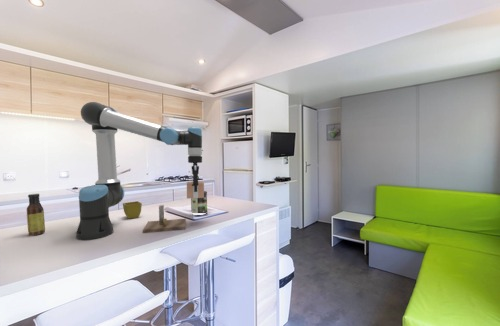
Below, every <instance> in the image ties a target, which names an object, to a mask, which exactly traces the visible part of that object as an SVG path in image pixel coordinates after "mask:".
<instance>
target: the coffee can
mask: <svg viewBox="0 0 500 326" xmlns="http://www.w3.org/2000/svg"><path fill="white" fill-rule="evenodd" d="M190 209H191V210H190V212H192V213H206V212H207V213H208V191H207V190H204V198H190Z"/></svg>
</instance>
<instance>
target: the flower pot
mask: <svg viewBox="0 0 500 326" xmlns="http://www.w3.org/2000/svg"><path fill="white" fill-rule="evenodd" d="M142 205H143V204H142V202H140V201H129V202H128V201H127V202H124V203H122V207H123V213H124V215H125V217H126V218H127V219H130V220H131V219H135V218H139V217H140V215H141V213H142V207H143V206H142Z"/></svg>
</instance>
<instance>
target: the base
mask: <svg viewBox="0 0 500 326" xmlns="http://www.w3.org/2000/svg"><path fill="white" fill-rule="evenodd" d="M158 214H159V215H158V217H159V219H158V220H152V221H151V220H150V221H147V222H146V224H145V225H144V227H143V228H142V234H146V233H156V232H167V231H180V230H186V221H187V219H186V218H179V219H177V218H176V219H167V218H165V205H164V204H160V205H158Z"/></svg>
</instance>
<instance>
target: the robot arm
mask: <svg viewBox="0 0 500 326" xmlns="http://www.w3.org/2000/svg"><path fill="white" fill-rule="evenodd" d="M80 109H81V110H80V115H81V118H82V120H83V121H84V122H85V123H86V124H88V125H90V126H91V131H92V132H93V133H94V135H95V142H96V143H95V144H96V159H97V160H96V161H97V177H98V179H97V180H96V181H95V182H94V184H92V185H88V186H85V187H82V188H81V189H80V190H79V192H78V204H79V223H78V226H77V229H76V232H75V238H76V240H80V241H83V240H84V241H85V240H94V239H95V240H96V239H99V238H103V237H107V236H109V235H112V234H113V233H114V226H113V223H112V221H111V219H110V216H109V215H110V213H109V209H110V208H111V207H115V206H116V205H118V204H120V202H122V201H123V199H124V198H125V190H124V187H123V186H122V185H121V180H120V179H119V178H118V175H117V173H118V172H117V157H116V155H117V154H116V139H115V138H116V137H115V136H116V135H115V134H117V133H118V130H119V131H120V130H121V131H124V132H128V133H130V134H135V135H138V136H141V137H146V138H149V139H153V140H155V141H159V142H162V143H164V144H166V145H167V146H182V145H183V146H184V145H185V146H187V155H188V157H187V162H188V163H189V164H192V166H191V172H192V173H191V174H192V181H193V184H192V186H193V198H198V181H199V169H200V165H198V164H200V163H203V156H202V155H203V152H204V150H203V148H202V147H203V134H202V128H201V127H197V126H195V127H194V126H191V127H187V130H185V131H184V130H183V131H182V130H176V129H174V128H172V127H167V126H163V125H162V124H161V125H160V124H158V123H154V122H151V121H147V120H144V119H141V118H137V117H134V116H130V115H128V114H124V113H122V112H121V113H120V112H118V111H117V110H116V109H114V108H113V107H111V106H108V105H105V104H102V103H100V102H97V101H91V102H90V101H89V102H86V103H84V104H83V106H82V107H81V108H80Z"/></svg>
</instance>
